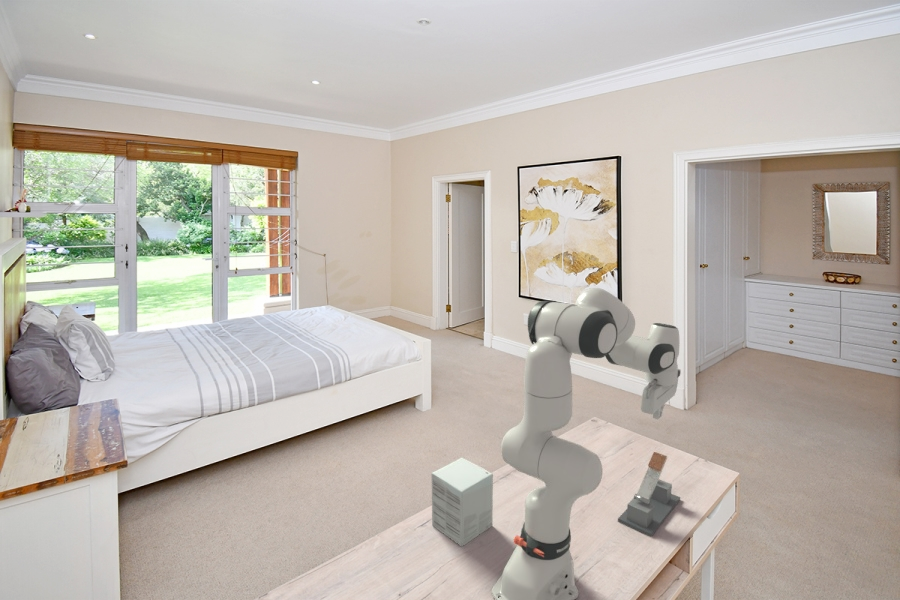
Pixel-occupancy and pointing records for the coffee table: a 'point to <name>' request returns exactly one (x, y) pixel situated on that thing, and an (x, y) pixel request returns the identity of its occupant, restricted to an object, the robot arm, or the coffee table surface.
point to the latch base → (657, 516)
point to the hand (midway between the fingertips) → (657, 417)
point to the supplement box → (462, 500)
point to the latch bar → (651, 478)
